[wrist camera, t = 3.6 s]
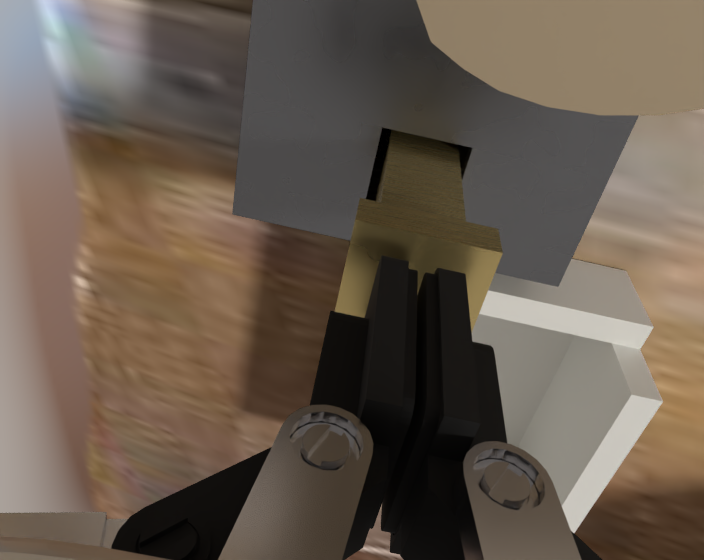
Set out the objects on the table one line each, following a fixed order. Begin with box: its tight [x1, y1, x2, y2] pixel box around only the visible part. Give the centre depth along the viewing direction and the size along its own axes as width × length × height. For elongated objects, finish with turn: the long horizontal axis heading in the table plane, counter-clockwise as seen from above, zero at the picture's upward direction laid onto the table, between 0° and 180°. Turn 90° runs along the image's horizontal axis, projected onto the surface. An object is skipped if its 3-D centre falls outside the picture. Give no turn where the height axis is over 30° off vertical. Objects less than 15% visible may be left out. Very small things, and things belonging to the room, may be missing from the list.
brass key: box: [334, 130, 503, 332], centre depth 16 cm, size 3×3×7 cm
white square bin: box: [472, 259, 663, 533], centre depth 24 cm, size 11×10×6 cm
